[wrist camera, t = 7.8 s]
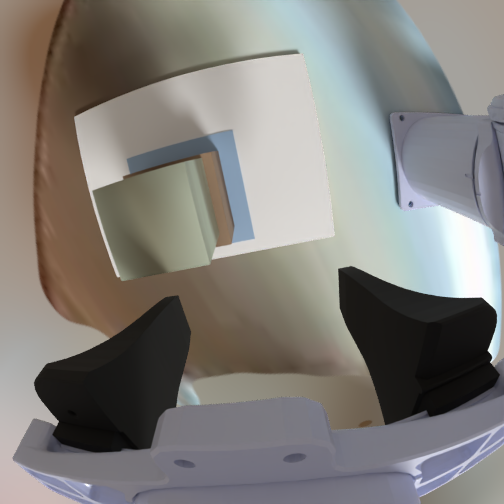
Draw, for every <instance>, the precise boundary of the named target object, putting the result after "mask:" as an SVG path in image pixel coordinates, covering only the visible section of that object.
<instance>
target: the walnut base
mask: <svg viewBox="0 0 504 504" xmlns="http://www.w3.org/2000/svg"><path fill="white" fill-rule="evenodd" d="M198 158H202V161H203V165H204V170H205V174H206V178H207V183H208V187H209V191H210V196H211V200H212V204H213V208H214V212H215V217H216V221H217V225H218V229H219V233H220V234H219V237H218V240H217V244H216V247H220V246H226V245H231V244H232V239H233V233H234V227H235V225H234V221H233V216H232V212H231V207H230V203H229V198H228V194H227V189H226V184H225V180H224V175H223V171H222V166H221V161H220V157H219V152H218V151H213V152H208V153H203V154H199V155H195V156H191V157H187V158H183V159H180V160H176V161H172V162H168V163H165V164H161V165H158V166H154V167H151V168H148V169H144V170H141V171H138V172H135V173H132V174H128V175H125V176H123V180H124V179H127V178H130V177H133V176H136V175H140V174H143V173H146V172H149V171H153V170H156V169H160V168H163V167H167V166H170V165H174V164H178V163H181V162H185V161H189V160H194V159H198Z"/></svg>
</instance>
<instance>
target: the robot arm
mask: <svg viewBox="0 0 504 504" xmlns="http://www.w3.org/2000/svg"><path fill="white" fill-rule="evenodd" d="M487 109H488V113H489V115H461V114H448V113H428V112H394V113H391V114H390V124H391V130H392V137H393V144H394V152H395V160H396V170H397V181H398V195H399V207H400V209H402V210H404V211H408V210H414V209H420V208H426V207H432V206H438V205H440V206H442V207H445V208H447V209H449V210H452V211H454V212H456V213H459V214H461V215H463V216H466V217H468V218H470V219H472V220H474V221H476V222H479V223H481V224H483V225H485V226H487V227H489V228H491V229H492V231H493V234H494V240H495V242H497V243H499V244H501V245H503V246H504V94H503V95H499V96H496V97H494V98H493V100H492V102H491V105H489V106H488V108H487ZM400 116H402V121H401V120H400V118H399V117H400ZM410 201H411V205H410V206H409V205H408V204H409V202H410ZM338 274H339V298H340V310H341V313H342V315H343V318H344V321H345V324H346V326H347V328H348V330H349V332H350V333H351V335H352V337H353V339H354V341H355V343H356V345H357V347H358V349H359V350H360V352H361V354H362V356H363V358H364V360H365V362H366V365H367V367H368V369H369V372H370V375H371V378H372V380H373V384H374V386H375V390H376V393H377V396H378V399H379V403H380V406H381V410H382V414H383V418H384V422H385V425H383V426H376V427H366V428H356V429H343V430H331V428H330V424H329V420H328V416H327V413H326V411H325V409H324V408H323V405H322V404H321V403H319V402H316V401H313V400H310V399H308V398H305V397H278V398H271V399H263V400H256V401H246V402H236V403H224V404H209V405H186V406H181V407H176V404H177V396H178V390H179V386H180V382H181V378H182V374H183V371H184V367H185V363H186V359H187V355H188V351H189V345H190V335H191V331H190V328H189V325H188V322H187V319H186V317H185V314H184V311H183V308H182V305H181V302H180V299H179V296H171V297H165V298H164V299H162V300H161V301H159V302H158V303H157V304H156V305H154V306H153V307H152V308H151V309H149V310H148V311H147V312H146V313H145V314H143V315H142V316H141V317H140V318H138V319H137V320H136V321H135V322H133V323H132V324H131V325H129V326H128V327H127V328H125V329H124V330H123V331H121V332H120V333H118V334H117V335H115V336H113V337H112V338H110V339H109V340H107V341H105V342H103V343H101V344H100V345H97V346H96V347H93V348H92V349H90V350H87V351H85V352H83V353H80V354H78V355H75V356H72V357H69V358H67V359H63V360H59V361H56V362H52V363H48V364H46V365H45V367H44V368H43V369H42V371H41V372H40V374H39V375H38V376H37V378H36V379H35V382H34V386H35V390H36V392H37V394H38V396H39V398H40V399H41V401H42V402H43V403H44V404H45V406H46V407H47V408H48V409H49V410H50V412H51V413H52V414H53V415H54V416H55V417H56V419H57V420H58V421H59V423H58V425H57V426H54V425H53V424H51V423H48V422H45V421H41V420H38V419H33V421H32V422H31V424H30V426H29V428H28V430H27V431H26V433H25V435H24V437H23V439H22V441H21V443H20V445H19V447H18V449H17V451H16V453H15V454H14V456H13V460H14V461H15V462H16V463H17V464H18V465H19V466H20V467H22V468H23V469H24V470H25V471H27V472H28V473H29V474H30V475H31V476H33V477H34V478H35V479H37V480H38V481H39V482H41V483H42V484H43V485H45V486H46V487H47V488H49V489H50V490H52V491H54V492H56V493H58V494H61V495H63V496H65V497H68V498H70V499H72V500H74V501H77V502H79V503H82V504H421V502H420V499H419V497H421V496H422V495H425V494H427V493H429V492H431V491H433V490H435V489H436V488H438V487H440V486H442V485H443V484H445V483H447V482H449V481H450V480H452V479H454V478H455V477H457V476H458V475H460V474H462V473H463V472H465V471H467V470H468V469H470V468H471V467H473V466H474V465H475V464H477V463H479V462H480V461H481V460H483V459H484V458H486V457H487V456H488V455H490V454H491V453H493V452H494V451H495V450H497V449H498V448H499V447H501V446H502V445H503V444H504V359H502V360H500V361H499V362H498V363H497V365H495V367H493V365H492V364H491V363H490V361H491V360H492V355H491V354H490V353H489V352H488V348H489V346H490V343H491V340H492V337H493V335H494V332H495V328H496V324H497V314H496V311H495V309H494V308H493V307H492V306H490V305H489V304H488V303H487V302H486V301H485V300H484V299H483V298H451V297H440V296H434V295H428V294H423V293H419V292H415V291H411V290H408V289H404V288H401V287H398V286H396V285H393V284H391V283H388V282H386V281H383V280H381V279H379V278H377V277H374V276H372V275H370V274H368V273H366V272H364V271H362V270H360V269H357V268H355V267H352V266H350V267H345V268H340V269H338Z"/></svg>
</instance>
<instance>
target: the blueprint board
mask: <svg viewBox="0 0 504 504" xmlns="http://www.w3.org/2000/svg"><path fill="white" fill-rule="evenodd" d="M74 119H75V125H76V131H77V137H78V142H79V148H80V153H81V157H82V162H83V167H84V171H85V175H86V179H87V183H88V187H89V191H90V195H91V199H92V202H93V206H94V209H95V213H96V216H97V220H98V223H99V226H100V229H101V232H102V236H103V239H104V242H105V245H106V248H107V250H108V253H109V256H110V259H111V262H112V264H113V267H114V270H115V273H116V275H117V277H120V275H119V272H118V270H117V267H116V264H115V262H114V259H113V256H112V253H111V251H110V248H109V245H108V242H107V239H106V236H105V233H104V230H103V226H102V223H101V220H100V217H99V213H98V210H97V206H96V203H95V199H94V196H93V192H92V191H93V190H95V189H98V188H101V187H104V186H106V185H109V184H112V183H115V182H118V181H121V180H123V176H125V175H128V174H132V173H135V172H138V171H141V170H144V169H148V168H151V167H154V166H158V165H161V164H165V163H168V162H172V161H176V160H180V159H183V158H187V157H191V156H195V155H199V154H203V153H208V152H213V151H218V152H219V157H220V161H221V166H222V171H223V175H224V180H225V184H226V189H227V194H228V198H229V203H230V207H231V212H232V216H233V221H234V225H235V227H234V233H233V239H232V244H231V245H226V246H220V247H215V250H214V253H213V257H212V259H217V258H222V257H227V256H233V255H238V254H243V253H249V252H254V251H259V250H265V249H270V248H275V247H280V246H286V245H291V244H296V243H302V242H307V241H312V240H318V239H323V238H328V237H334V236H335V233H334V224H333V215H332V206H331V198H330V190H329V183H328V176H327V169H326V163H325V157H324V150H323V145H322V139H321V133H320V128H319V123H318V117H317V112H316V107H315V103H314V98H313V93H312V89H311V84H310V80H309V76H308V71H307V67H306V63H305V59H304V55H303V54H291V55H281V56H273V57H265V58H258V59H252V60H246V61H240V62H234V63H229V64H224V65H220V66H215V67H211V68H206V69H202V70H198V71H194V72H191V73H187V74H183V75H180V76H176V77H173V78H170V79H166V80H163V81H160V82H157V83H154V84H151V85H148V86H145V87H143V88H140V89H137V90H134V91H132V92H129V93H126V94H124V95H121V96H119V97H117V98H114V99H112V100H109V101H107V102H105V103H102V104H100V105H98V106H96V107H94V108H91V109H89V110H87V111H85V112H83V113H81V114H79V115H77V116H75V117H74Z"/></svg>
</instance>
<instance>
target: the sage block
mask: <svg viewBox="0 0 504 504" xmlns="http://www.w3.org/2000/svg"><path fill="white" fill-rule="evenodd" d="M92 192H93V196H94V199H95V203H96V206H97V210H98V213H99V217H100V220H101V223H102V226H103V230H104V233H105V236H106V239H107V242H108V245H109V248H110V251H111V253H112V256H113V259H114V262H115V264H116V267H117V270H118V272H119V275H120V278H121V280H122V281H125V280H130V279H135V278H141V277H146V276H152V275H157V274H162V273H168V272H173V271H178V270H183V269H189V268H194V267H199V266H205V265H210V263H211V260H212V257H213V253H214V250H215V247H216V244H217V240H218V237H219V234H220V233H219V229H218V225H217V221H216V217H215V212H214V208H213V204H212V200H211V196H210V191H209V187H208V183H207V178H206V174H205V170H204V165H203V161H202V158H198V159H194V160H189V161H185V162H181V163H178V164H174V165H170V166H167V167H163V168H160V169H156V170H153V171H149V172H146V173H143V174H140V175H136V176H133V177H130V178H127V179H124V180H121V181H118V182H115V183H112V184H109V185H106V186H104V187H101V188H98V189H95V190H93V191H92Z"/></svg>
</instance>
